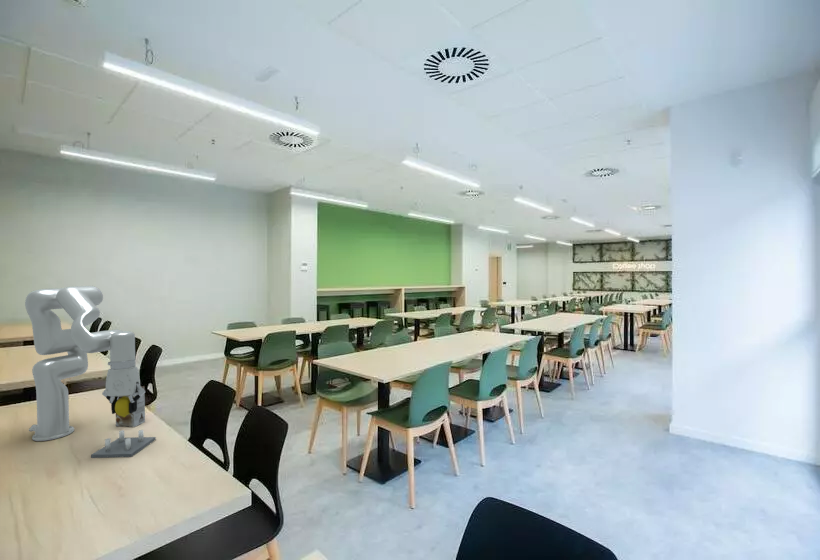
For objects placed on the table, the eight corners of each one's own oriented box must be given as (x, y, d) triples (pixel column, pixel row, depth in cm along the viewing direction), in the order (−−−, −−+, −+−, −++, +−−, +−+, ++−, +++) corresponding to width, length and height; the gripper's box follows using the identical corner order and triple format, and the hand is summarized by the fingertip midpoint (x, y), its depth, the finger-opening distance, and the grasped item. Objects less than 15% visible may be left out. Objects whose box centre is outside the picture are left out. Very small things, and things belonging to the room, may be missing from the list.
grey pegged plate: (91, 458, 137) (90, 443, 137) (119, 440, 151) (119, 427, 151) (131, 457, 138) (131, 442, 138) (155, 439, 152) (155, 427, 152)
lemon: (121, 414, 147) (120, 394, 147) (136, 414, 147) (136, 393, 147) (111, 420, 141) (110, 398, 141) (127, 419, 142) (126, 398, 142)
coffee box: (114, 426, 165) (114, 389, 165) (127, 420, 172) (126, 385, 171) (134, 427, 164) (133, 390, 164) (146, 421, 171) (145, 385, 170)
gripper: (91, 367, 140) (93, 416, 140) (140, 366, 141) (141, 415, 141) (107, 362, 147) (108, 409, 148) (152, 361, 148) (154, 408, 148)
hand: (124, 411), depth 144 cm, fingers closed on lemon, 5 cm apart
